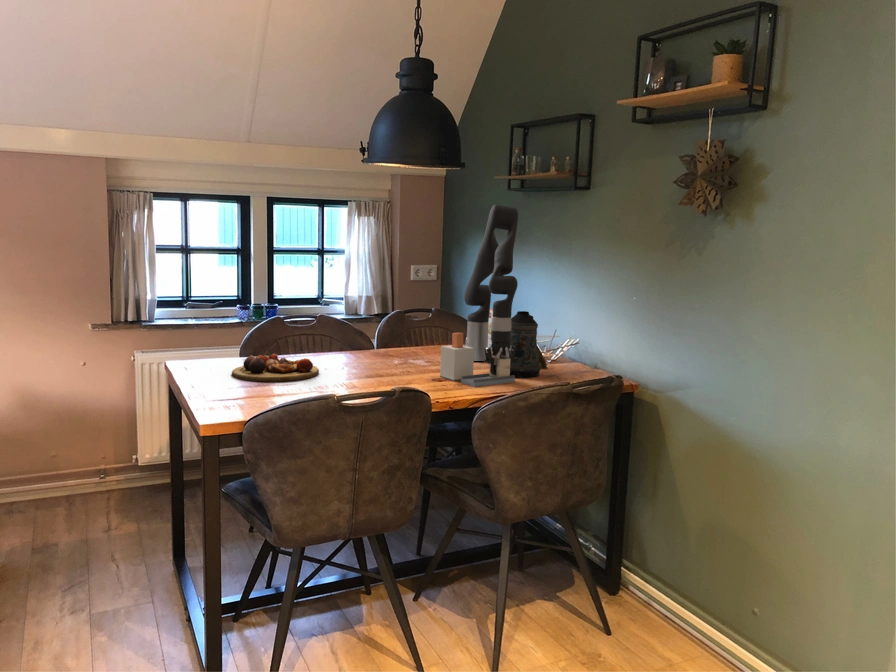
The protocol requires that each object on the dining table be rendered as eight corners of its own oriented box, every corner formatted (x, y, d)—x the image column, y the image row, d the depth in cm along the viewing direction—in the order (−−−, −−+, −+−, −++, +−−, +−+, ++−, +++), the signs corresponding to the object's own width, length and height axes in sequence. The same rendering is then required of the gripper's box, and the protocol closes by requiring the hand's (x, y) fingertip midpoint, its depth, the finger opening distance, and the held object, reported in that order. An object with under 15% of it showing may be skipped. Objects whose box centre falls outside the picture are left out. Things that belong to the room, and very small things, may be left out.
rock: (514, 359, 300) (524, 360, 290) (525, 343, 302) (535, 343, 292) (533, 374, 303) (543, 375, 293) (544, 358, 304) (554, 359, 295)
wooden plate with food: (336, 374, 269) (336, 353, 268) (271, 386, 244) (271, 363, 243) (280, 365, 288) (280, 345, 287) (214, 375, 262) (213, 353, 261)
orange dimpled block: (451, 356, 267) (452, 332, 266) (458, 355, 269) (458, 332, 268) (456, 357, 265) (457, 333, 264) (462, 356, 267) (463, 333, 266)
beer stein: (498, 377, 272) (501, 313, 268) (498, 368, 291) (500, 308, 288) (541, 379, 271) (544, 315, 268) (538, 370, 290) (541, 309, 287)
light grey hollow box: (439, 376, 269) (440, 346, 268) (459, 374, 275) (460, 344, 273) (453, 381, 262) (454, 349, 260) (473, 379, 267) (474, 348, 266)
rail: (461, 382, 260) (461, 376, 259) (501, 378, 271) (501, 371, 270) (474, 386, 253) (474, 380, 253) (514, 382, 264) (514, 375, 264)
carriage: (489, 375, 266) (489, 355, 265) (499, 374, 269) (500, 354, 268) (499, 378, 261) (500, 357, 260) (509, 377, 264) (510, 356, 263)
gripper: (509, 326, 269) (507, 370, 272) (479, 328, 261) (478, 373, 264) (522, 329, 263) (520, 373, 266) (492, 331, 255) (490, 377, 257)
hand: (499, 373), depth 265 cm, fingers closed on carriage, 5 cm apart
